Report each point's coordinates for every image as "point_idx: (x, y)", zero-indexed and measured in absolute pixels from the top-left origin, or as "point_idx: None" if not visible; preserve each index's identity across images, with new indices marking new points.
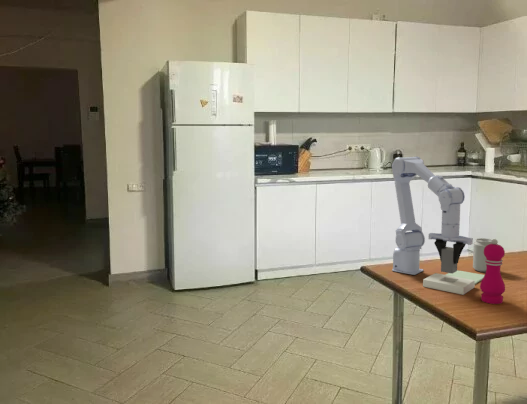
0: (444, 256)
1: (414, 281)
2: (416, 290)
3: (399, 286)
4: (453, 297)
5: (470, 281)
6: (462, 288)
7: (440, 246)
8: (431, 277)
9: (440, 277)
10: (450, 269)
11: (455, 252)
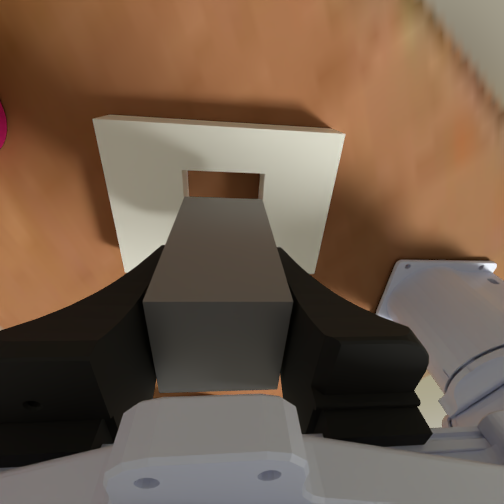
0: (247, 252)
1: (384, 184)
2: (348, 26)
3: (452, 44)
4: (122, 24)
5: (128, 245)
6: (101, 117)
7: (314, 317)
8: (312, 199)
9: (273, 225)
10: (196, 207)
11: (123, 294)
